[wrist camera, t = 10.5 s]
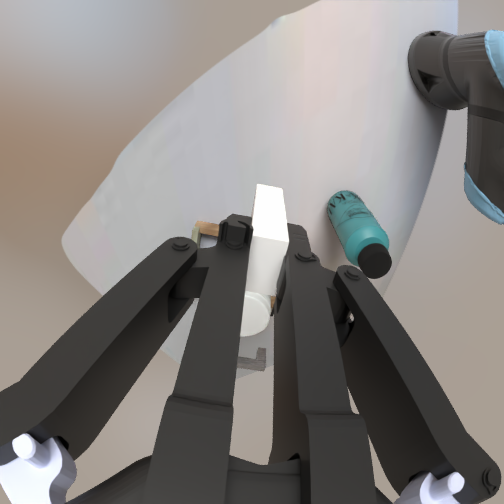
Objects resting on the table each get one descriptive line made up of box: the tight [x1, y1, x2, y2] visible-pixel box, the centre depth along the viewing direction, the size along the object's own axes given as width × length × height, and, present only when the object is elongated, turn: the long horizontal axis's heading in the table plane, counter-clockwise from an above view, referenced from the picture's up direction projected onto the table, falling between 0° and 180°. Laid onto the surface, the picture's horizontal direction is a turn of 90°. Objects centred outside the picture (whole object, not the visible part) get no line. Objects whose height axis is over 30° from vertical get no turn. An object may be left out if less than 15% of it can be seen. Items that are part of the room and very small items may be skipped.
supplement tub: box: [240, 291, 271, 336], centre depth 49 cm, size 10×10×15 cm
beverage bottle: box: [327, 191, 392, 279], centre depth 39 cm, size 6×7×20 cm
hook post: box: [237, 348, 266, 371], centre depth 52 cm, size 12×2×18 cm, turn 79°
